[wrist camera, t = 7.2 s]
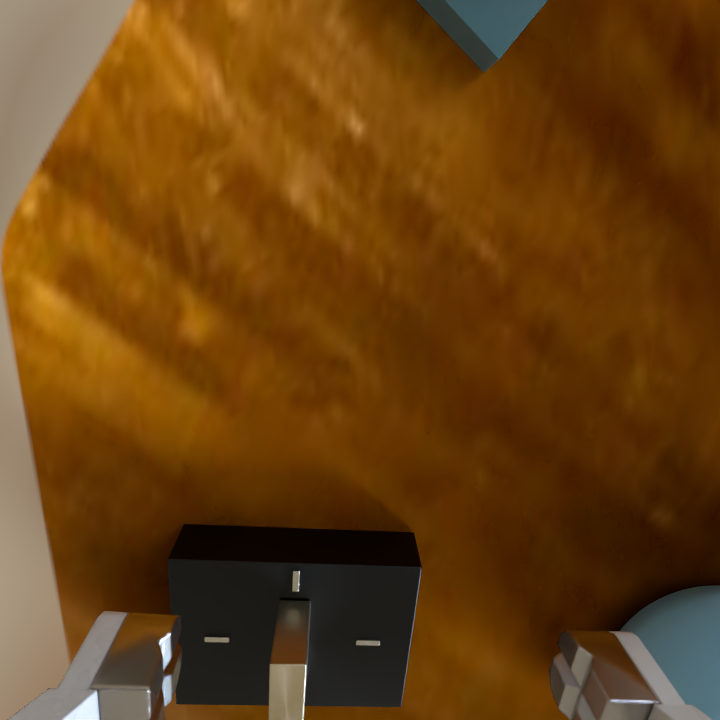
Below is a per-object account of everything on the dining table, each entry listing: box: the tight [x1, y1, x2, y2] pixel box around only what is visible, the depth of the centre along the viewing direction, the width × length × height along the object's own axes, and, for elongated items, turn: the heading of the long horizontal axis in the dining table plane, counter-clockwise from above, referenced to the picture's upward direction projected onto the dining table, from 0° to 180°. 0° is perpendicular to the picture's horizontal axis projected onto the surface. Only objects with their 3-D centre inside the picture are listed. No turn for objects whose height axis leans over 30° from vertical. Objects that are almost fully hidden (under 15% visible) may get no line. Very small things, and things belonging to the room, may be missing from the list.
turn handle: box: [268, 600, 311, 720], centre depth 26 cm, size 6×2×4 cm, turn 176°
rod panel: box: [168, 524, 422, 707], centre depth 29 cm, size 14×11×3 cm
